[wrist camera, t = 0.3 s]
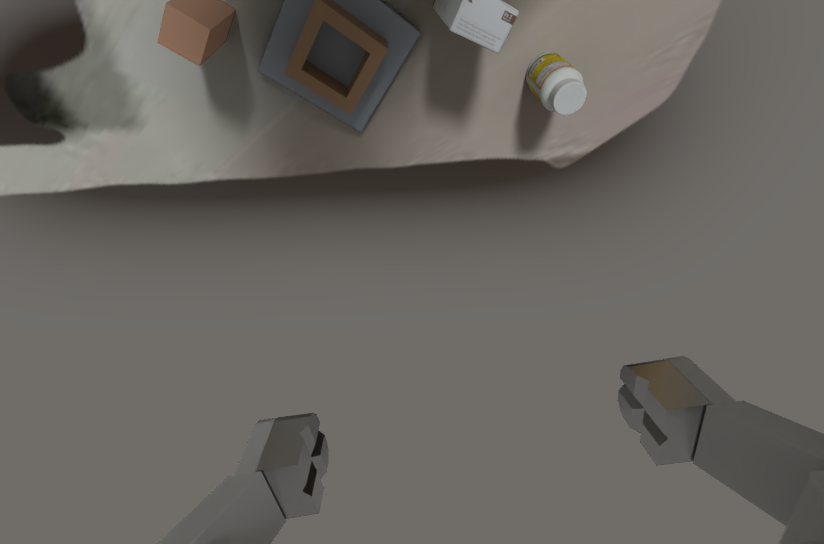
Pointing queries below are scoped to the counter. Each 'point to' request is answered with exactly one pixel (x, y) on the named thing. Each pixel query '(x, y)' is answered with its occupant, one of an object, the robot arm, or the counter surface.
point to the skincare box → (478, 20)
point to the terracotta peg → (195, 27)
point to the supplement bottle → (556, 84)
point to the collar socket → (338, 54)
